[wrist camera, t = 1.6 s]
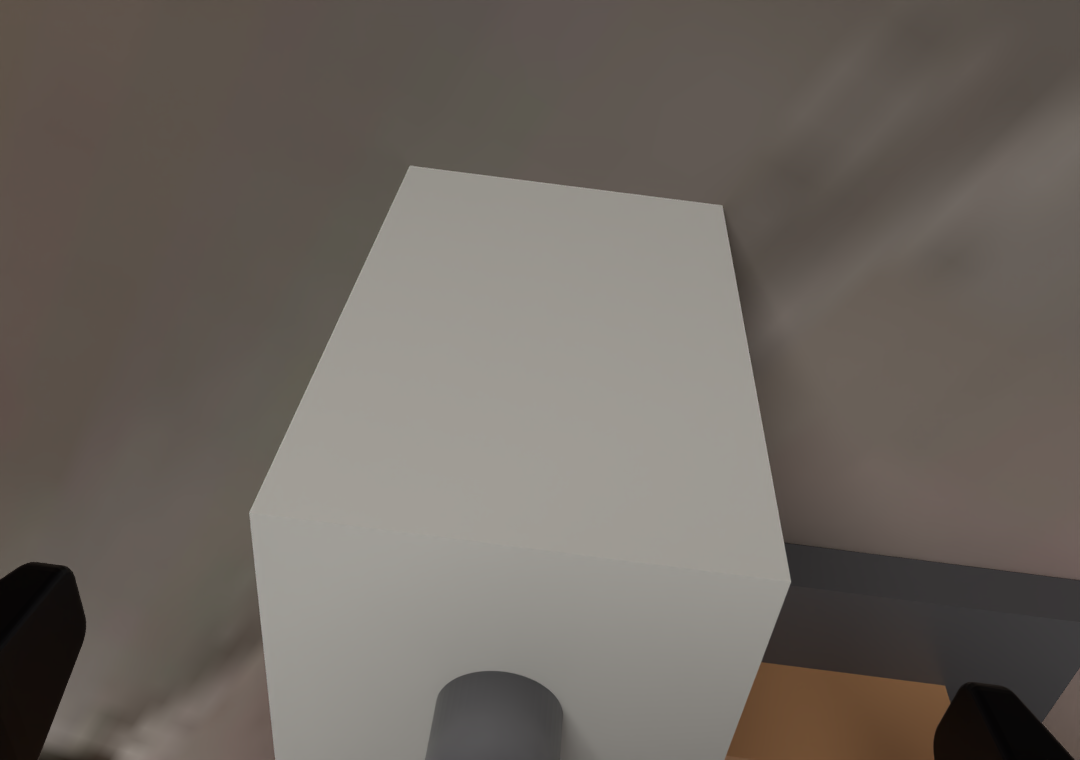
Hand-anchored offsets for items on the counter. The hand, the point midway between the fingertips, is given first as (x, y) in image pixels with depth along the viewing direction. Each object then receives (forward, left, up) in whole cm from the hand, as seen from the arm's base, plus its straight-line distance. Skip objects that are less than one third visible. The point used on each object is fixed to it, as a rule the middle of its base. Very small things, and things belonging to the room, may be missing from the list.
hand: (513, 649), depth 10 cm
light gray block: (0, 0, -6) cm, 6 cm away
